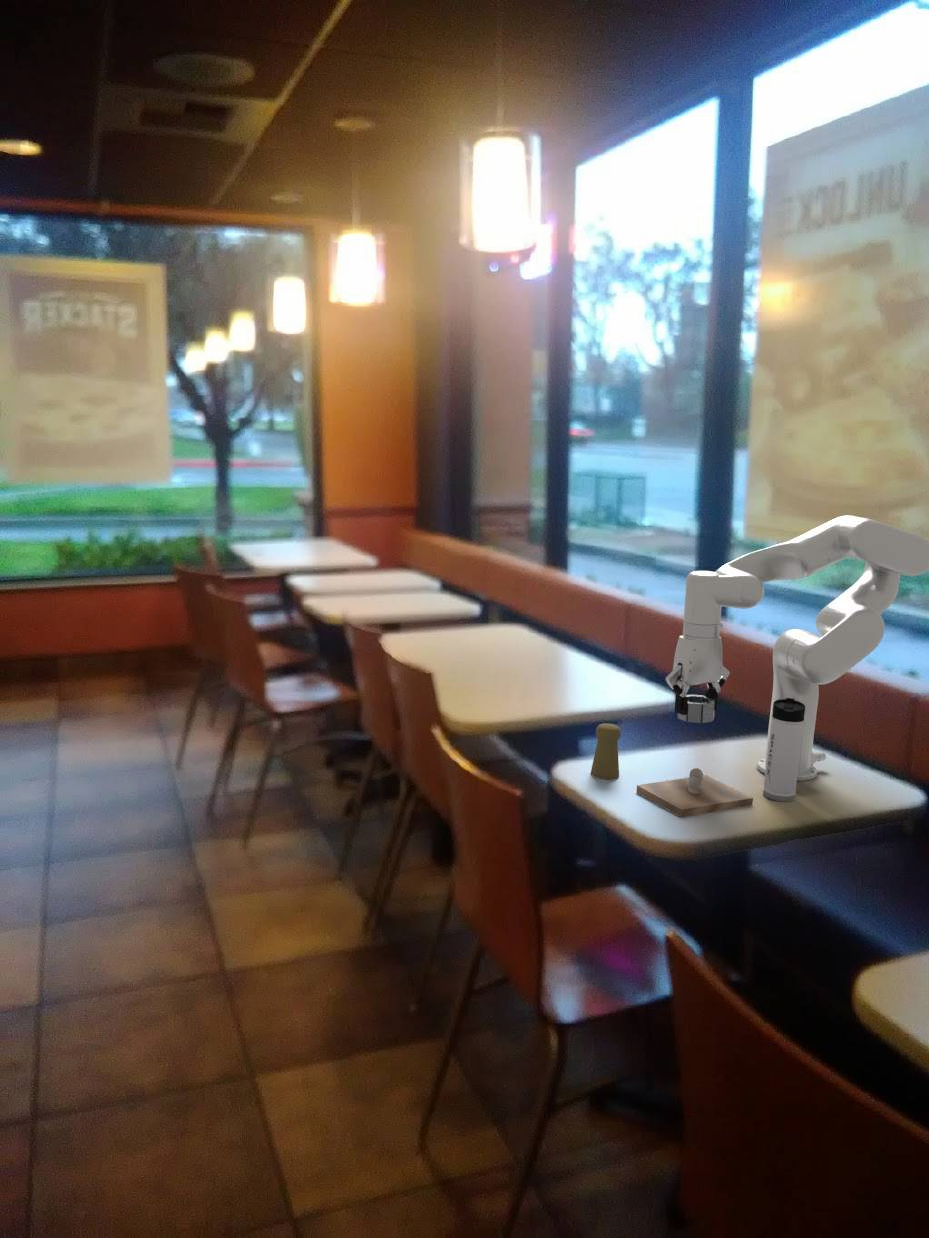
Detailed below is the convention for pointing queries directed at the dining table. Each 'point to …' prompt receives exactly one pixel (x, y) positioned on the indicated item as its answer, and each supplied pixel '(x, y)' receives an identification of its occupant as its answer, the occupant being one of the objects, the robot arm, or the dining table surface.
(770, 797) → the travel mug
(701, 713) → the steel ring
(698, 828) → the dining table surface
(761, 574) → the robot arm
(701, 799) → the board
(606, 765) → the cork
